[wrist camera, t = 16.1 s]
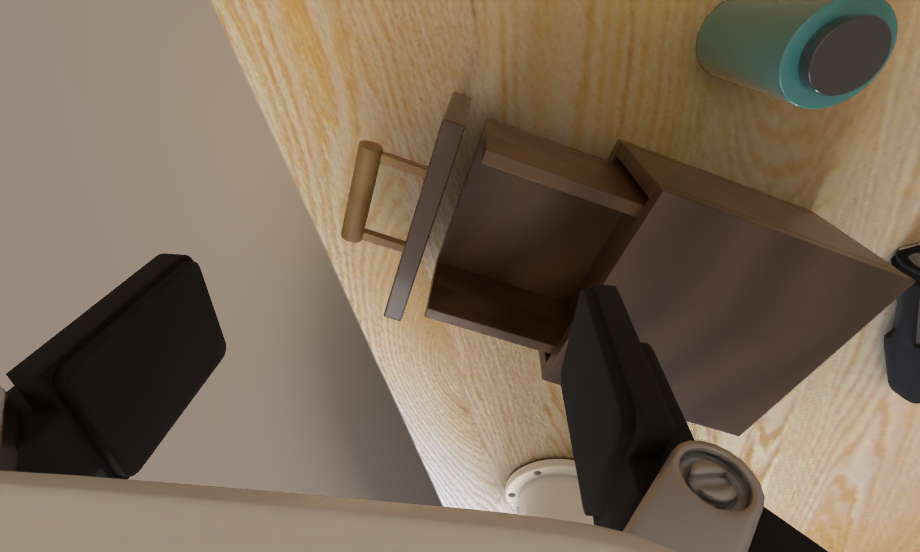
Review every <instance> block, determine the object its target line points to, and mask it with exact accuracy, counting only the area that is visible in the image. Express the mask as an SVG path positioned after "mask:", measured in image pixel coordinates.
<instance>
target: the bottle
mask: <svg viewBox="0 0 920 552" xmlns="http://www.w3.org/2000/svg"><path fill="white" fill-rule="evenodd" d="M896 37H897V19H896V15H895V13H894V11H893V9H892V7H891V6H890V5H889V4H888V3H887V2H886V1H885V0H726V1H724V2H723V3H721V4H720V5H719V6H718V7H716V8H715V9H714V10H713V11H712V12H711V14H710V15H709V16H708V17H707V19H706V20H705V22H704V24H703V25H702V27H701V30H700V32H699V35H698V39H697V45H696V52H697V58H698V61H699V63H700V65H701V66H702V68H703V69H704V70H705V71H706V72H708V73H710V74H711V75H714V76H717V77H719V78H722V79H725V80H728V81H730V82H733V83H736V84H738V85H741V86H744V87H747V88H749V89H752V90H755V91H758V92H760V93H763V94H766V95H768V96H771V97H774V98H777V99H779V100H782V101H785V102H787V103H790V104H793V105H796V106H798V107H801V108H806V109H822V108H827V107H830V106H834V105H837V104H839V103H841V102H844V101H846V100H847V99H849V98H851V97H853V96H854V95H856V94H857V93H859V92H860V91H861V90H863V89H864V88H865V87H866V86H867V85H868V84H869V83H871V82H872V80H873V79H874V78H875V77H876V76H877V75H878V74H879V72H880V71H881V70H882V69H883V67H884V66H885V64H886V62H887V61H888V59H889V57H890V55H891V53H892V51H893V48H894V45H895V42H896Z"/></svg>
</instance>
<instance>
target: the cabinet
mask: <svg viewBox="0 0 920 552" xmlns="http://www.w3.org/2000/svg"><path fill="white" fill-rule="evenodd" d="M607 162H609V163H612V164H615V165H617V166H620V167H623V168H626V169H627V170H628V171H629V173H630V174H631V175H632V177H633V178H634V179H635V180H636V182H637V183H638V184H639V186H640V187H641V188H642V190H643V191H644V192H645V193H646V195H647V196H648V197H649V199H648V201H647V203H646V204H645V206H644V207H643V209H642V211H641V212H640V214H639V215H638V217H637V219H636V220H635V222H634V223H633V225H632V226H631V228H630V230H629V231H628V233H627V234H626V236H625V238H624V239H623V241H622V242H621V244H620V246H619V247H618V249H617V250H616V252H615V254H614V255H613V257H612V258H611V260H610V262H609V263H608V265H607V266H606V268H605V269H604V271H603V273H602V274H601V276H600V277H599V279H598V281H597V282H596V284H598V285H612V286H616V287H617V289H618V291H619V293H620V296H621V298H622V300H623V303H624V305H625V307H626V310H627V312H628V314H629V317H630V319H631V322H632V324H633V326H634V329H635V331H636V333H637V336H638V338H639V340H640V342H645V343H648V344H650V345H651V347H652V348H653V350H654V352H655V354H656V356H657V359H658V361H659V363H660V365H661V367H662V370H663V372H664V374H665V376H666V378H667V381H668V383H669V385H670V387H671V389H672V392H673V394H674V396H675V398H676V401H677V403H678V405H679V407H680V409H681V412H682V414H683V416H684V418H685V420H686V421H688V422H691V423H695V424H698V425H702V426H705V427H709V428H712V429H716V430H719V431H723V432H726V433H730V434H733V435H736V436H740V435H741V434H742V433H743V432H744V431H746V430H747V429H748V428H749V427H750V426H751V425H752V424H754V423H755V422H756V421H757V420H758V419H759V418H760V417H762V416H763V415H764V414H765V413H766V412H767V411H768V410H770V409H771V408H772V407H773V406H774V405H775V404H776V403H778V402H779V401H780V400H781V399H782V398H783V397H784V396H786V395H787V394H788V393H789V392H790V391H791V390H792V389H794V388H795V387H796V386H797V385H798V384H799V383H800V382H802V381H803V380H804V379H805V378H806V377H807V376H808V375H810V374H811V373H812V372H813V371H814V370H815V369H816V368H818V367H819V366H820V365H821V364H822V363H823V362H824V361H826V360H827V359H828V358H829V357H830V356H831V355H832V354H834V353H835V352H836V351H837V350H838V349H839V348H840V347H842V346H843V345H844V344H845V343H846V342H847V341H848V340H850V339H851V338H852V337H853V336H854V335H855V334H856V333H858V332H859V331H860V330H861V329H862V328H863V327H864V326H866V325H867V324H868V323H869V322H870V321H871V320H872V319H874V318H875V317H876V316H877V315H878V314H879V313H880V312H882V311H883V310H884V309H885V308H886V307H887V306H888V305H890V304H891V303H892V302H893V301H894V300H895V299H896V298H898V297H899V296H900V295H901V294H902V293H903V292H904V291H906V290H907V289H908V288H909V287H910V286H911V285H912V284H914V283H915V280H913V279H912V278H910V277H909V276H907V275H906V274H904V273H902V272H901V271H900V270H898V269H897V268H895V267H894V266H892V265H891V264H889V263H888V262H886V261H885V260H883V259H882V258H880V257H879V256H877V255H876V254H874V253H873V252H872V251H870V250H869V249H867V248H866V247H864V246H863V245H861V244H860V243H858V242H857V241H855V240H854V239H852V238H851V237H849V236H848V235H846V234H845V233H844V232H842V231H841V230H839V229H838V228H836V227H835V226H833V225H832V224H830V223H829V222H827V221H826V220H824V219H823V218H821V217H820V216H818V215H817V214H816V213H814V212H813V211H810V210H808V209H805V208H802V207H800V206H797V205H794V204H792V203H789V202H786V201H784V200H781V199H778V198H776V197H773V196H770V195H768V194H765V193H762V192H759V191H757V190H754V189H751V188H749V187H746V186H743V185H741V184H738V183H735V182H733V181H730V180H727V179H725V178H722V177H719V176H717V175H714V174H711V173H709V172H706V171H703V170H700V169H698V168H695V167H692V166H690V165H687V164H684V163H682V162H679V161H676V160H674V159H671V158H668V157H666V156H663V155H660V154H658V153H655V152H652V151H650V150H647V149H644V148H641V147H639V146H636V145H633V144H631V143H628V142H625V141H623V140H618V142H617V144H616V146H615V147H614V149H613V151H612V153H611V155H610V157H609V159H608V160H607ZM572 323H573V320H572V322H571V324H570V325H569V327H568V328H567V330H566V332H565V333H564V335H563V336H562V338H561V340H560V341H559V343H558V344H557V346H556V348H555V349H554V351H553V352H552V354H549V353H546V352H543V351H539V356H540V363H541V373H542V379H543V380H546V381H549V382H553V383H556V384H560V385H561V368H562V364H563V360H564V356H565V352H566V348H567V344H568V340H569V336H570V331H571V327H572Z"/></svg>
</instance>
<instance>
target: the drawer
mask: <svg viewBox="0 0 920 552" xmlns="http://www.w3.org/2000/svg"><path fill="white" fill-rule="evenodd" d="M470 101H471V98H470V97H469V96H466V95H463V94H461V93H458V92H453V94H452V97H451V100H450V102H449V105H448V107H447V110H446V112H445V115H444V117H443V120H442V123H441V127H440V130H439V133H438V137H437V140H436V143H435V147H434V150H433V153H432V157H431V160H430V163H429V167H428V166H425V165H422V164H419V163H416V162H413V161H410V160H407V159H404V158H401V157H399V156H396V155H393V154H390V153H387V152H383V148H382V146H380V145H379V144H377V143H375V142H372V141H360V143H359V147H358V152H357V157H356V162H355V167H354V172H353V177H352V182H351V187H350V192H349V197H348V202H347V207H346V212H345V217H344V222H343V227H342V232H341V236H342V238H343V239H345V240H346V241H349V242H359V241H361V240H365V241H368V242H371V243H374V244H377V245H381V246H384V247H387V248H390V249H393V250H397V251H400V252H403V253H402V257H401V260H400V263H399V266H398V270H397V273H396V276H395V280H394V283H393V286H392V290H391V293H390V296H389V300H388V303H387V306H386V310H385V313H384V316H385V317H388V318H391V319H395V320H398V321H401V319H402V316H403V313H404V310H405V307H406V304H407V301H408V298H409V295H410V292H411V289H412V286H413V283H414V280H415V277H416V274H417V271H418V268H419V265H420V262H421V259H422V256H423V253H424V250H425V247H426V244H427V241H428V238H429V235H430V232H431V229H432V226H433V223H434V220H435V217H436V214H437V211H438V208H439V205H440V202H441V199H442V196H443V193H444V190H445V187H446V184H447V181H448V178H449V175H450V172H451V169H452V166H453V163H454V160H455V157H456V154H457V151H458V148H459V145H460V142H461V139H462V136H463V132H464V129H465V125H466V121H467V116H468V111H469V106H470ZM382 152H383V153H382ZM380 163H381V164H384V165H387V166H390V167H393V168H396V169H399V170H402V171H405V172H408V173H410V174H413V175H416V176H419V177H422V178H425V180H424V183H423V187H422V190H421V193H420V197H419V200H418V203H417V207H416V210H415V213H414V217H413V220H412V223H411V227H410V230H409V233H408V237H407V240H406V241H403V240H400V239H397V238H394V237H390V236H387V235H384V234H381V233H378V232H375V231H372V230H368V229H365V225H366V220H367V216H368V212H369V208H370V203H371V199H372V195H373V190H374V186H375V182H376V178H377V173H378V169H379V165H380ZM648 199H649V197H648V196H647V195H646V193H645V192H644V191H643V190H642V188H641V187H640V186H639V184H638V183H637V182H636V180H635V179H634V178H633V177H632V175H631V174H630V173H629V171H628V170H627V169H626V168H623V167H620V166H617V165H615V164H612V163H609V162H606V161H604V160H601V159H598V158H595V157H593V156H590V155H587V154H584V153H582V152H579V151H576V150H573V149H571V148H568V147H565V146H562V145H560V144H557V143H554V142H551V141H549V140H546V139H543V138H540V137H538V136H535V135H532V134H529V133H527V132H524V131H521V130H518V129H516V128H513V127H510V126H507V125H505V124H502V123H499V122H497V121H494V120H491V119H488V118H487V120H486V123H485V126H484V129H483V132H482V134H481V137H480V140H479V143H478V146H477V148H476V151H475V154H474V157H473V160H472V162H471V165H470V168H469V171H468V174H467V176H466V179H465V182H464V185H463V188H462V190H461V193H460V196H459V199H458V202H457V204H456V207H455V210H454V213H453V216H452V218H451V221H450V224H449V227H448V230H447V232H446V235H445V238H444V241H443V244H442V247H441V249H440V252H439V255H438V258H437V261H436V263H435V268H434V273H433V278H432V282H431V287H430V292H429V297H428V302H427V306H426V311H425V317H428V318H432V319H435V320H438V321H442V322H445V323H448V324H452V325H455V326H459V327H462V328H465V329H469V330H472V331H475V332H479V333H482V334H485V335H489V336H492V337H496V338H499V339H502V340H506V341H509V342H512V343H516V344H519V345H522V346H526V347H529V348H533V349H536V350H539V351H543V352H546V353H549V354H552V352H553V351H554V349H555V348H556V346H557V344H558V343H559V341H560V340H561V338H562V336H563V335H564V333H565V332H566V330H567V328H568V327H569V325H570V324H571V322H572V320H573V319H574V315H575V311H576V307H577V303H578V299H579V295H580V292H581V290H582V289H584V290H588V288H589V286H590V285H591V284H596V282H597V281H598V279H599V277H600V276H601V274H602V273H603V271H604V269H605V268H606V266H607V265H608V263H609V262H610V260H611V258H612V257H613V255H614V254H615V252H616V250H617V249H618V247H619V246H620V244H621V242H622V241H623V239H624V238H625V236H626V234H627V233H628V231H629V230H630V228H631V226H632V225H633V223H634V222H635V220H636V219H637V217H638V215H639V214H640V212H641V211H642V209H643V207H644V206H645V204H646V203H647V201H648ZM364 229H365V230H364Z"/></svg>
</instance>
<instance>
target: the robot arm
mask: <svg viewBox="0 0 920 552" xmlns="http://www.w3.org/2000/svg"><path fill="white" fill-rule="evenodd" d="M225 351H226V343H225V340H224V337H223V334H222V331H221V328H220V325H219V322H218V319H217V316H216V313H215V310H214V308H213V305H212V302H211V299H210V296H209V293H208V290H207V287H206V284H205V281H204V278H203V275H202V272H201V270H200V267H199V265H198V264H197V263H196V262H194V261H193V260H192V259H191V258H190V257H189V256H187V255H178V254H160V255H158V256H156V257H155V258H154V259H152V260H151V261H150V262H149V263H147V264H146V265H145V266H143V267H142V268H141V269H140V270H138V271H137V272H136V273H134V274H133V275H132V276H131V277H129V278H128V279H127V280H126V281H124V282H123V283H122V284H121V285H119V286H118V287H117V288H115V289H114V290H113V291H112V292H110V293H109V294H108V295H106V296H105V297H104V298H103V299H101V300H100V301H99V302H97V303H96V304H95V305H94V306H92V307H91V308H90V309H89V310H87V311H86V312H85V313H83V314H82V315H81V316H80V317H78V318H77V319H76V320H74V321H73V322H72V323H71V324H69V325H68V326H67V327H65V328H64V329H63V330H62V331H60V332H59V333H58V334H57V335H56V336H54V337H53V338H51V339H50V340H49V341H48V342H46V343H45V344H44V345H43V346H41V347H40V348H39V349H38V350H36V351H35V352H34V353H32V354H31V355H30V356H29V357H27V358H26V359H25V360H24V361H22V362H21V363H19V364H18V365H17V366H16V367H14V368H13V369H12V370H11V371H9V372H8V373H7V374H6V375H7V376H8V378H9V379H10V380H11V381H12V383H13V384H14V385H15V386H14V387H12V388H11V389H10V390H9V391H7V392H6V391H5V390H4V389H3V388H1V387H0V552H828V551H826V550H825V549H823V548H822V547H821V546H819V545H818V544H816V543H815V542H813V541H812V540H811V539H809V538H808V537H806V536H805V535H803V534H802V533H801V532H799V531H798V530H796V529H795V528H793V527H792V526H791V525H789V524H788V523H786V522H785V521H783V520H782V519H781V518H779V517H778V516H776V515H775V514H773V513H772V512H771V511H769V510H768V509H766V508H765V507H763V505H764V494H763V491H762V488H761V484H760V483H759V481H758V480H757V478H756V476H755V475H754V473H753V472H752V471H751V470H750V469H749V468H748V467H747V466H746V464H745V463H744V462H743V461H742V460H740V459H739V458H738V457H736V456H735V455H733V454H732V453H731V452H729V451H728V450H725V449H723V448H721V447H719V446H717V445H715V444H712V443H708V442H704V441H695V440H694V438H693V436H692V434H691V431H690V429H689V427H688V425H687V423H686V420H685V418H684V416H683V414H682V412H681V409H680V407H679V405H678V403H677V401H676V398H675V396H674V394H673V392H672V389H671V387H670V385H669V383H668V381H667V378H666V376H665V374H664V372H663V370H662V367H661V365H660V363H659V361H658V359H657V356H656V354H655V352H654V350H653V348H652V347H651V345H650V344H648V343H645V342H640V340H639V338H638V336H637V333H636V331H635V329H634V326H633V324H632V322H631V319H630V317H629V314H628V312H627V310H626V307H625V305H624V303H623V300H622V298H621V296H620V293H619V291H618V289H617V287H616V286H612V285H598V284H591V285H590V286H589V288H588V290H584V289H582V290H581V292H580V295H579V299H578V303H577V307H576V311H575V315H574V319H573V323H572V327H571V331H570V336H569V340H568V344H567V348H566V352H565V356H564V360H563V364H562V368H561V387H562V393H563V399H564V404H565V410H566V416H567V421H568V427H569V432H570V438H571V444H572V449H573V455H574V460H570V459H546V460H541V461H536V462H533V463H530V464H527V465H525V466H523V467H521V468H519V469H518V470H517V471H515V472H514V473H513V474H512V475H511V476H510V477H509V479H508V481H507V483H506V487H505V493H506V500H507V503H508V504H509V506H510V507H511V508H512V509H513V510H514V511H515V512H516V513H517V514H508V513H499V512H490V511H480V510H471V509H460V508H450V507H439V506H428V505H417V504H406V503H395V502H383V501H373V500H362V499H351V498H340V497H328V496H317V495H316V496H315V495H305V494H294V493H283V492H270V491H260V490H248V489H236V488H224V487H212V486H201V485H189V484H177V483H164V482H151V481H140V480H128V478H129V477H130V476H133V475H135V474H136V473H138V472H139V470H140V469H141V468H142V467H143V465H144V464H145V463H146V461H147V460H148V459H149V457H150V456H151V455H152V453H153V452H154V451H155V449H156V448H157V446H158V445H159V444H160V442H161V441H162V440H163V438H164V437H165V436H166V434H167V432H168V431H169V430H170V429H171V427H172V426H173V425H174V423H175V422H176V421H177V419H178V418H179V417H180V415H181V414H182V413H183V411H184V410H185V409H186V407H187V406H188V404H189V403H190V402H191V400H192V399H193V398H194V396H195V395H196V394H197V392H198V391H199V390H200V388H201V387H202V385H203V384H204V383H205V381H206V380H207V379H208V377H209V376H210V375H211V373H212V372H213V371H214V369H215V368H216V367H217V365H218V364H219V363H220V361H221V360H222V358H223V357H224V355H225Z"/></svg>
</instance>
